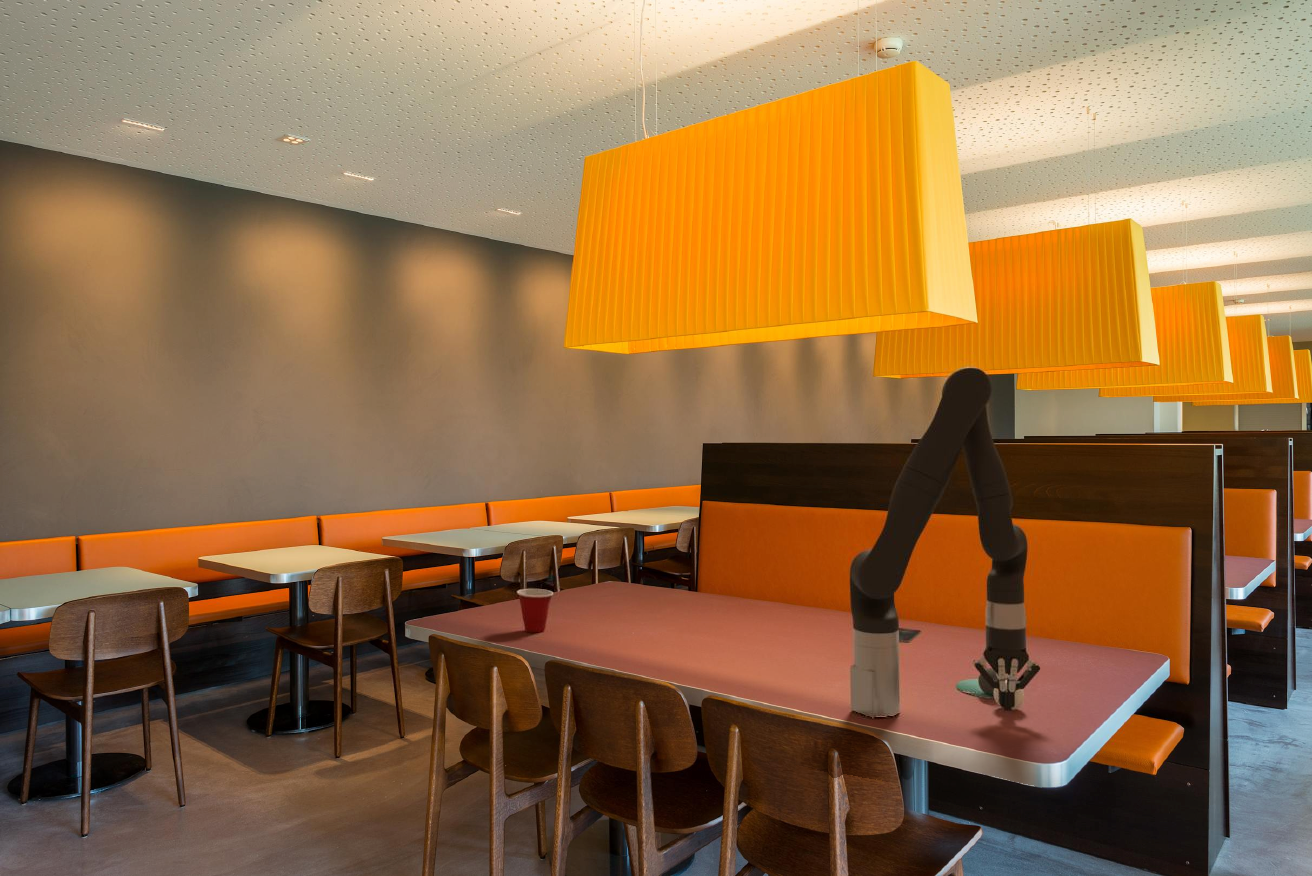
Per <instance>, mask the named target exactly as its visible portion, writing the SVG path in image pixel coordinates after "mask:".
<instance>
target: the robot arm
mask: <svg viewBox="0 0 1312 876" xmlns="http://www.w3.org/2000/svg"><path fill="white" fill-rule="evenodd" d="M992 388H993V386H992V382H991V379H990V377H989V375H988V374H987V373H986V372H985V371H984V370H982V369H980V368H979V367H974V366H968V367H961V368H959V369H957V370H955V371H954V372H952V373H951V374H950V375H949V376H948V377H947V379H946V380H945V381H944V384H943V386H942V390H941V399H940V401H939V403H938V406H937V409H936V411H935V414H934V416H933V418H932V421H931V423H930V424H929V426H928V427H927V429H926V431H925V432H924V433H923V435H922V437H921V438H920V440H919V441H918V442H917V444H916V445H915V447H914V448H913V450H912V452H911V453H910V455H909V457H908V458H907V460H906V462H905V464H904V466H903V468H902V470H901V471H900V474H899V476H898V478H897V480H896V482H895V485H894V486H893V489H892V492H891V495H890V496H891V497H890V500H889V503H888V504H889V505H888V509H887V513H886V514H887V515H886V519H885V522H884V526H883V528H882V530H881V531H880V532H881V533H880V534H879V536H878V538H877V540H876V541H875V543H874V544H873V547H872V548H871V549H866V550H863V551H861V552H859V553H858V554H857V555H856V556H855V557H854V558H853V560H852V562H851V564H850V567H849V568H850V569H849V594H850V595H849V596H850V597H849V598H850V602H849V603H850V613H851V615H852V617H851V618H852V633H853V634H852V635H853V636H852V639H853V643H852V644H853V646H852V647H853V649H852V650H853V651H852V653H853V655H852V656H853V664H851V665H850V666H849V671H850V673H849V674H850V677H849V678H850V682H849V684H850V685H849V686H850V711H851V710H853V711H856V712H859V713H861V714H864V715H867V716H870V717H876V716H890V715H894V714H897V713H898V712H899V711H900V712H901V702H900V699H901V697H900V642H899V628H900V625H899V624H900V623H899V622H900V620H899V616H898V612H897V609H896V603H895V593H896V592H897V590H899V588H900V586H901V585H902V582H903V579H904V577H905V573H906V571H907V568H908V565H909V562H910V561H911V560H910V559H911V557H912V555H913V552H914V550H915V547H916V545H917V543H918V541H919V539H920V537H921V535H922V534H923V532H924V530H925V529H926V526H927V524H928V522H929V520H930V518H931V516H932V515H933V513H934V511H935V509H936V507H937V505H938V503H940V500H941V498H942V496H943V494H944V492H945V489H946V488H947V486H948V483H949V481H950V479H951V476H952V474H953V472H954V469H955V466H956V465H957V462H958V459H959V456H960V453H961V450H962V451H963V455H964V460H965V465H966V468H967V473H968V478H969V482H970V486H971V490H972V494H973V497H974V501H975V505H976V507H977V508H976V509H977V523H978V532H979V533H978V534H979V540H980V543H981V547H982V549H983V551H984V553H985V555H987V557H989V558H990V559H991V569H990V572H989V573H988V574H987V578H986V605H985V649H984V651H983V654H982V656H981V657H980V658H979V659H975V660H973V662H972V664H973V666H974V667H975V669H976V670H977V672H979V673H980V674H981V675H982V676H983V677H984V679H985V680H986V681H987V682H988V684H989V685H990V686H991V687H992V688H996V689H998V692H999V704H1000V706H1001V707H1000V706H999V707H1000V708H1002V709H1003V710H1004V711H1007V710H1008V711H1013V710H1012V707H1014V706H1015V691H1016V690H1019V689H1023V690H1024V689H1025V688H1026V687H1027V686H1028V685H1029V683H1030V682H1031V681H1032V680H1033V679H1034V677H1035V676H1036V675H1037V674H1038V673H1039V672H1040V670H1041V667H1040V665H1039V664H1038V663H1037V662H1035V661H1033V660H1032V659H1030V655H1029V654H1028V652H1027V618H1026V616H1027V615H1026V613H1027V612H1026V608H1025V583H1024V578H1025V573H1026V567H1027V559H1028V547H1029V546H1028V539H1027V536H1026V533H1025V531H1024V530H1023V529H1022V528H1021V527H1020V526H1019V525H1017V524H1015V523H1013V518H1012V514H1011V510H1012V508H1013V506H1014V502H1013V496H1012V491H1011V487H1010V484H1009V481H1008V476H1007V473H1006V469H1005V467H1004V464H1003V462H1002V459H1001V457H1000V455H999V452H998V450H997V448H996V445H995V443H994V440H993V437H992V433H991V429H990V425H989V419H988V409H987V405H988V403H989V402H990V400H991V397H992V395H993V394H992V392H993V389H992ZM987 663H988V665H989V666H990V668H992V669H993V670H994V671H995V672H996V676H997V681H996V680H994V679H993V678H992V677H991V676H990V675H989V673H988V672H987V671H986V670H985V669H987V668H988V665H987ZM1023 668H1025V670H1024V672H1022V674H1021V675H1020V676H1019V677H1018V674H1019V673H1020V672H1021V670H1022V669H1023ZM980 674H979V675H980ZM1006 678H1007V684H1006ZM1006 686H1007V689H1006ZM853 711H852V712H853ZM856 712H855V713H856ZM859 713H858V714H859ZM861 714H860V715H861ZM864 715H863V716H864ZM867 716H866V717H867ZM870 717H869V718H870Z"/></svg>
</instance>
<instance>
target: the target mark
mask: <svg viewBox="0 0 1312 876" xmlns="http://www.w3.org/2000/svg"><path fill="white" fill-rule="evenodd" d="M955 687H957V688H958V689H959V690H958V689H957V688H956V689H957V690H958V691H960V690H961V691H966V692H967V691H969V692H971V693H968V694H967V695H969V694H971V695H970V696H973V695H976V696H975V697H977V696H981V697H980V698H983V697H989V698H988V699H991V698H994V696H989V695H987V694H985V693H984V692H983V691H982V690H981V688H980V686H979V683H978V678H970V679H969V678H968V679H964V680H960V681H958V682H957V683H956V685H955ZM961 691H960V692H961ZM972 692H974V693H972ZM976 692H977V693H976Z"/></svg>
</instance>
